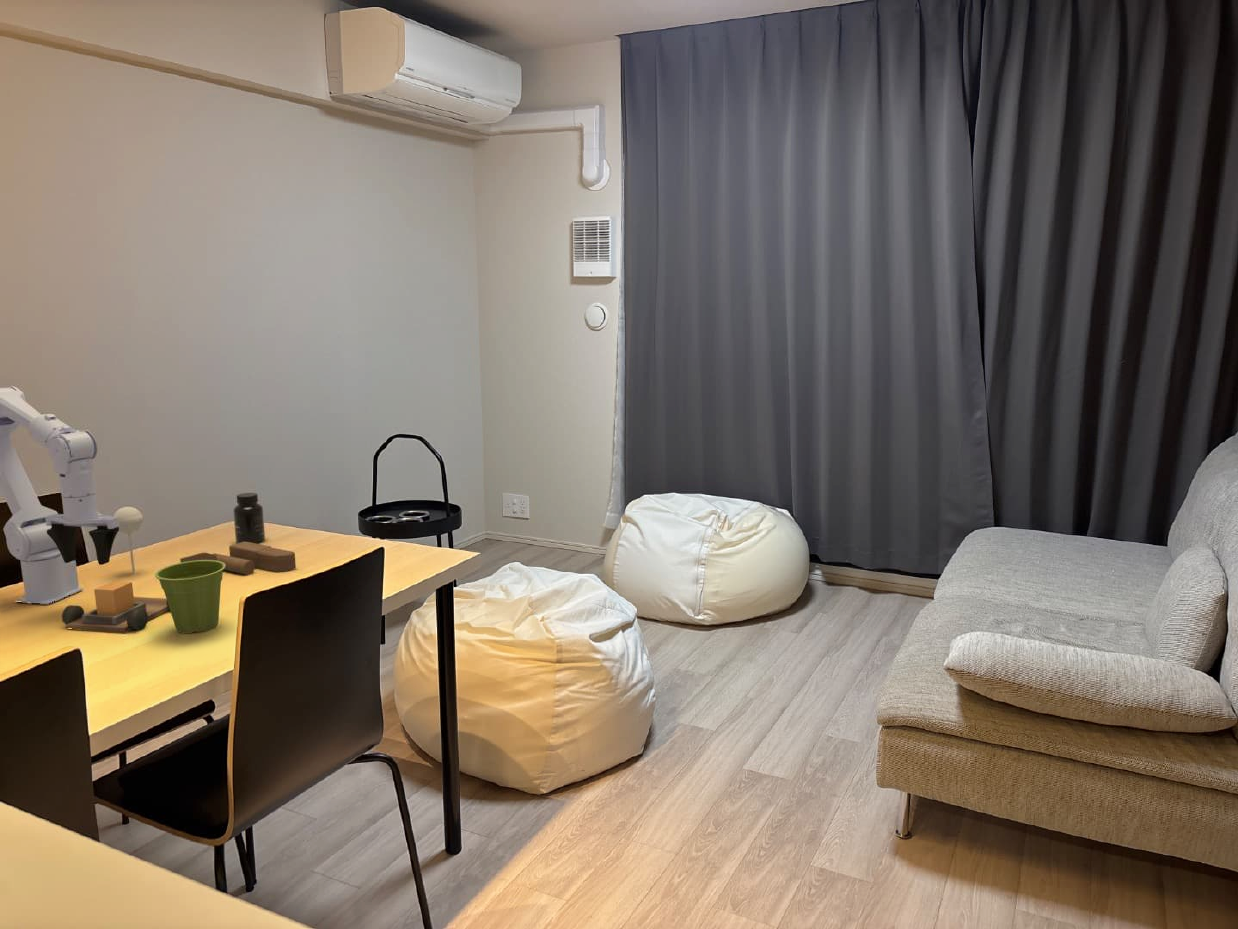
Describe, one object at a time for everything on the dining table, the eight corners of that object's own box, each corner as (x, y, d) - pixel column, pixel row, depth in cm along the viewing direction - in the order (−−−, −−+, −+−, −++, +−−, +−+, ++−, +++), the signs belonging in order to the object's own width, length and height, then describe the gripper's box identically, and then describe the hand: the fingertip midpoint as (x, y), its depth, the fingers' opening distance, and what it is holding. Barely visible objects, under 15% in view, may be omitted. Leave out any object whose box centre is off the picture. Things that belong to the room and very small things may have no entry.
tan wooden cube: (116, 611, 178) (113, 581, 177) (135, 612, 177) (131, 582, 176) (97, 620, 173) (94, 589, 172) (116, 621, 172) (113, 590, 171)
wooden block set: (242, 536, 215) (296, 546, 206) (244, 559, 216) (297, 570, 207) (176, 553, 201) (231, 565, 192) (178, 579, 202) (233, 591, 193)
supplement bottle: (230, 544, 227) (225, 497, 225) (245, 537, 234) (241, 491, 232) (256, 545, 226) (251, 498, 224) (270, 538, 233) (267, 491, 230)
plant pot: (180, 616, 178) (175, 559, 175) (241, 616, 177) (236, 559, 175) (148, 639, 166) (141, 578, 164) (213, 639, 166) (207, 579, 163)
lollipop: (112, 575, 203) (104, 509, 200) (134, 568, 209) (126, 503, 206) (133, 578, 201) (125, 511, 198) (155, 570, 207) (148, 505, 204)
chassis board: (121, 600, 187) (119, 583, 186) (188, 604, 184) (186, 587, 183) (60, 629, 171) (57, 610, 171) (133, 633, 168) (130, 615, 168)
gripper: (126, 491, 180) (134, 558, 183) (61, 488, 183) (70, 555, 186) (100, 499, 174) (108, 568, 176) (33, 496, 176) (42, 565, 179)
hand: (87, 562), depth 180 cm, fingers open, 7 cm apart
